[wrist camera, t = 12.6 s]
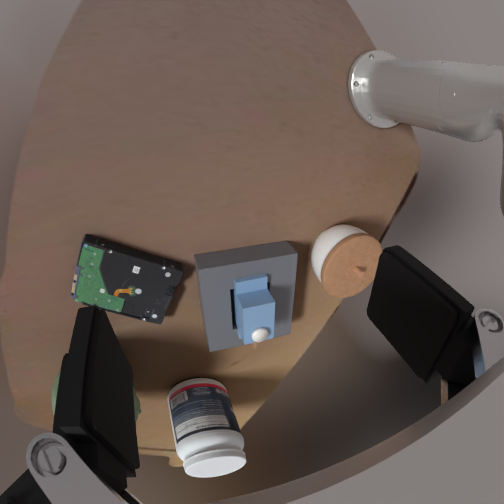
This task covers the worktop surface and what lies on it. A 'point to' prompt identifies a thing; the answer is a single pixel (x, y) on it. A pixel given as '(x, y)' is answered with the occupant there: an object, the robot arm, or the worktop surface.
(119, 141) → the worktop surface
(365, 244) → the lidded jar
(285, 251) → the plate
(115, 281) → the disk drive
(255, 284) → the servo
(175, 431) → the supplement tub
